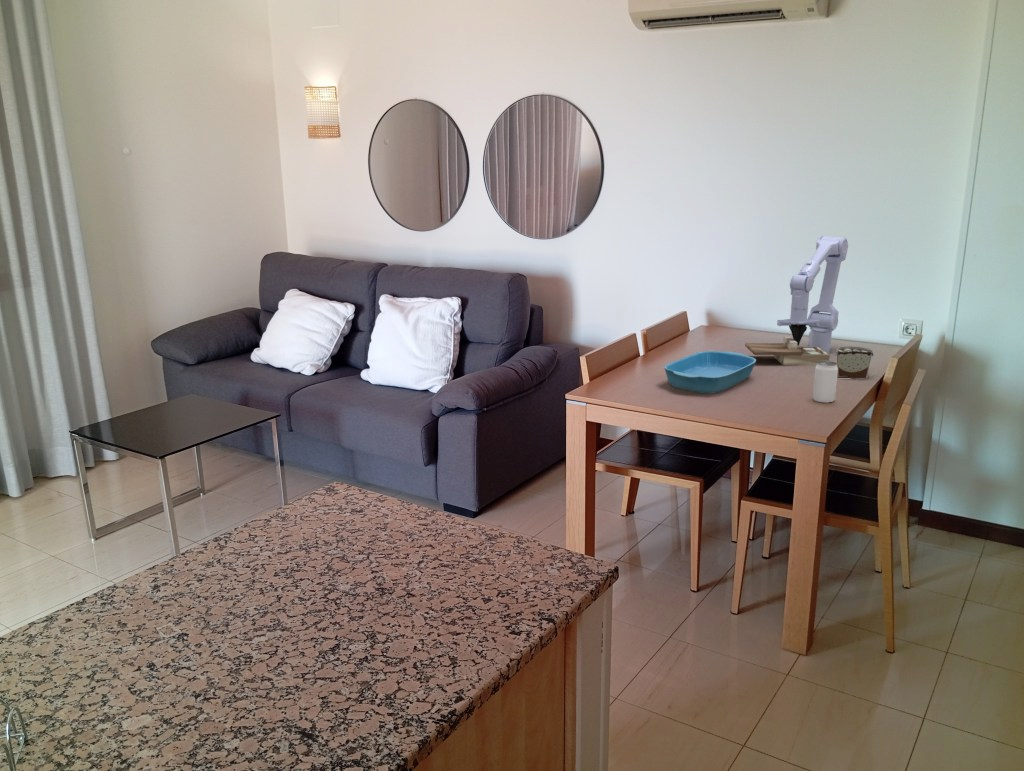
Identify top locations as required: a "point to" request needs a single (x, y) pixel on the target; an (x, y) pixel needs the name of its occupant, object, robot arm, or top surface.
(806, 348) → the cream cube
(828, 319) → the robot arm
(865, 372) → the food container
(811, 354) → the sage cube
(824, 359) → the beige open tray
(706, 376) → the casserole dish
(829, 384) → the can
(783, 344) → the lid
